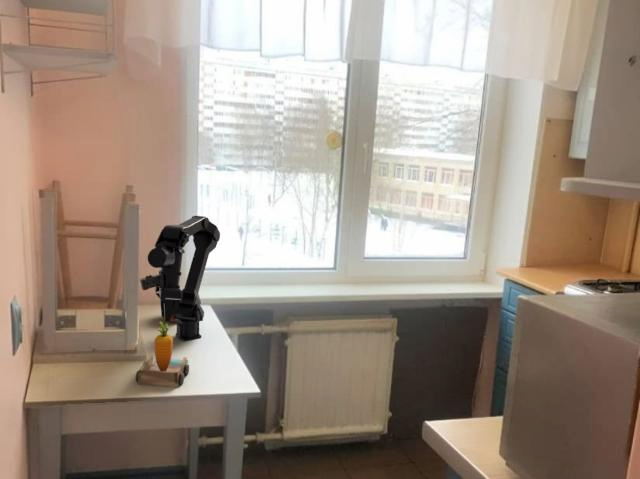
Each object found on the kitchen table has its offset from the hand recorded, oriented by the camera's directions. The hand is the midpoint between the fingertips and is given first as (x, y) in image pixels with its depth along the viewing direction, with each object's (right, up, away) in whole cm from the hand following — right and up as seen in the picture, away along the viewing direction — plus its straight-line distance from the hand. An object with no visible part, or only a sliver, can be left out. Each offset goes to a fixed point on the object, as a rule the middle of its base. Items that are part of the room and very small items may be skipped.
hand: (165, 319), depth 179 cm
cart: (+3, -14, -9) cm, 17 cm away
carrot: (+3, -14, -12) cm, 18 cm away
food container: (-7, -5, +34) cm, 35 cm away
